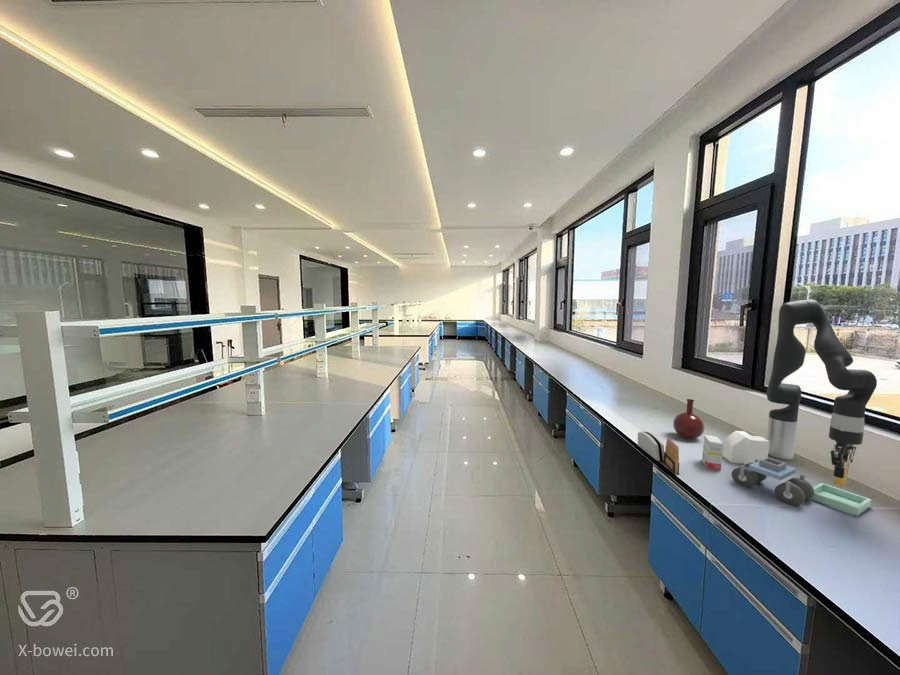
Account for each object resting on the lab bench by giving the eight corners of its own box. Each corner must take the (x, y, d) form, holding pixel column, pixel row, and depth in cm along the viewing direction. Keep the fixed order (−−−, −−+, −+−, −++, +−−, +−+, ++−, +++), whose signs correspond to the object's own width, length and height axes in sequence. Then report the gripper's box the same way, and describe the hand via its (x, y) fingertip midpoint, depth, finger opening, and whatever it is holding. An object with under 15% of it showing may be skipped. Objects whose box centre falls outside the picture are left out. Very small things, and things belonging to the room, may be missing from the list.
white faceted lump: (766, 469, 144) (769, 441, 143) (735, 466, 147) (738, 439, 145) (750, 457, 155) (752, 431, 154) (721, 455, 157) (723, 429, 156)
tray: (820, 490, 128) (821, 482, 128) (870, 507, 117) (871, 499, 117) (806, 498, 123) (807, 490, 122) (857, 517, 112) (858, 508, 112)
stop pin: (835, 481, 121) (838, 451, 120) (847, 485, 119) (850, 454, 118) (832, 483, 120) (835, 453, 119) (843, 487, 117) (847, 456, 116)
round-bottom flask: (702, 436, 179) (705, 398, 177) (704, 445, 168) (707, 405, 166) (672, 431, 186) (674, 395, 184) (672, 439, 175) (675, 401, 173)
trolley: (745, 475, 139) (748, 448, 137) (814, 501, 121) (818, 469, 120) (729, 482, 133) (732, 453, 132) (799, 510, 115) (802, 477, 114)
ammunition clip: (678, 475, 139) (680, 446, 138) (673, 475, 139) (675, 446, 138) (668, 463, 149) (669, 436, 148) (663, 462, 150) (665, 436, 148)
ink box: (721, 471, 142) (724, 443, 141) (707, 468, 144) (709, 441, 143) (715, 462, 150) (717, 436, 149) (701, 460, 152) (703, 434, 151)
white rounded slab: (668, 463, 149) (667, 440, 148) (657, 464, 149) (656, 441, 148) (647, 447, 166) (646, 426, 165) (637, 448, 166) (636, 427, 165)
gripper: (838, 421, 124) (833, 467, 125) (822, 427, 117) (816, 475, 119) (870, 427, 117) (864, 476, 119) (855, 434, 111) (848, 486, 112)
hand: (840, 475), depth 119 cm, fingers closed on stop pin, 2 cm apart
